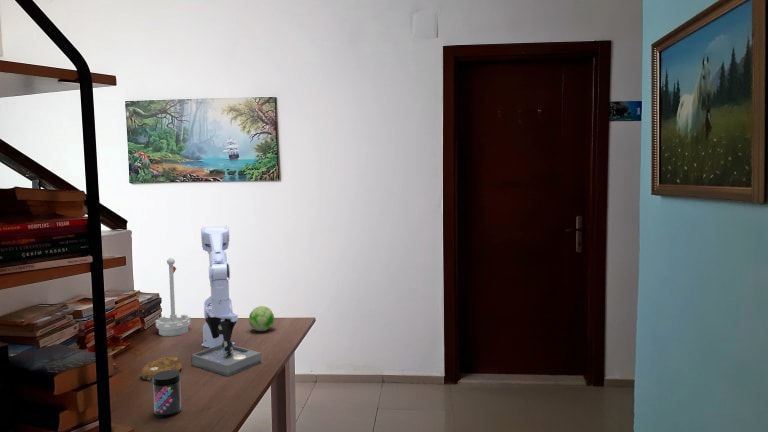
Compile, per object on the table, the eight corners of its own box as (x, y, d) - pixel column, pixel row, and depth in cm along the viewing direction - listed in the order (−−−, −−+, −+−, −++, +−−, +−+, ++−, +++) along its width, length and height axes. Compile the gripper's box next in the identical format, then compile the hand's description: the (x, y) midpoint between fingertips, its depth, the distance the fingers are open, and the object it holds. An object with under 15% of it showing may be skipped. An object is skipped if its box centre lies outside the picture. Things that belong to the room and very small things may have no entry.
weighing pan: (195, 359, 175) (195, 357, 175) (224, 349, 185) (224, 347, 185) (219, 366, 169) (219, 364, 169) (248, 355, 179) (248, 353, 178)
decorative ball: (250, 327, 216) (250, 303, 215) (275, 326, 217) (274, 303, 216) (247, 335, 206) (246, 310, 206) (273, 334, 208) (272, 309, 207)
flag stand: (183, 337, 205) (180, 260, 202) (150, 337, 205) (146, 260, 202) (195, 326, 218) (193, 255, 215) (164, 327, 218) (161, 255, 215)
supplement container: (150, 411, 141) (148, 374, 140) (176, 404, 146) (174, 367, 145) (159, 420, 136) (157, 381, 135) (185, 412, 141) (183, 375, 140)
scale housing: (191, 365, 175) (190, 353, 175) (225, 352, 187) (224, 342, 186) (227, 376, 165) (227, 364, 165) (260, 362, 177) (260, 351, 176)
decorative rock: (149, 367, 175) (138, 387, 161) (148, 355, 175) (136, 374, 160) (185, 362, 177) (177, 381, 163) (184, 351, 177) (176, 369, 162)
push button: (233, 356, 175) (229, 328, 173) (217, 358, 175) (212, 330, 173) (237, 348, 181) (233, 321, 180) (222, 350, 181) (217, 322, 179)
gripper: (196, 299, 176) (197, 338, 177) (225, 305, 168) (226, 346, 169) (213, 294, 182) (214, 333, 183) (242, 300, 174) (243, 340, 175)
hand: (221, 339), depth 176 cm, fingers closed on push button, 5 cm apart
